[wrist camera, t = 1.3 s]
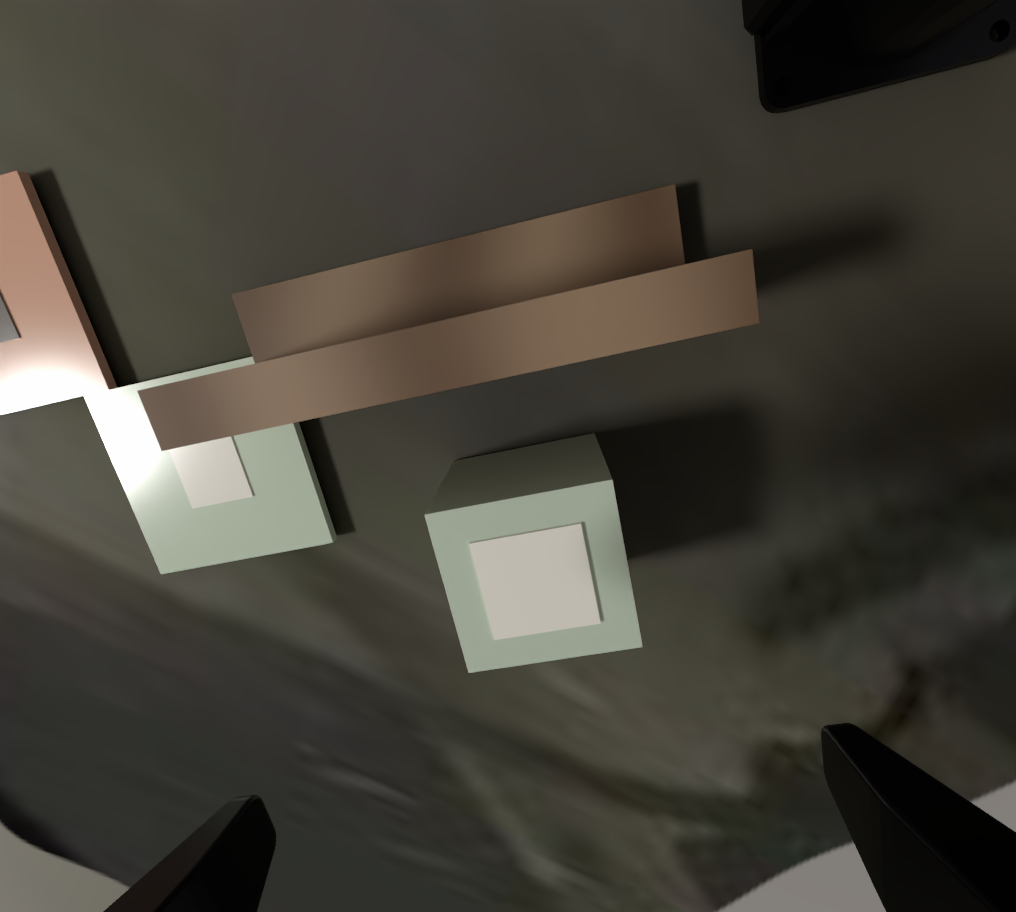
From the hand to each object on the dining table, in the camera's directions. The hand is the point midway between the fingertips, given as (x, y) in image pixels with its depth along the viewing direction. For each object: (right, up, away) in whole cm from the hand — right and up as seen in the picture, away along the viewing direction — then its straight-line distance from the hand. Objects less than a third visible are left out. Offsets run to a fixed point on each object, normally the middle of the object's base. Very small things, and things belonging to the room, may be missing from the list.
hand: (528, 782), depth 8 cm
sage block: (+1, +3, +11) cm, 11 cm away
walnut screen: (-2, +9, +9) cm, 13 cm away
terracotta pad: (-18, +10, +10) cm, 23 cm away
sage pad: (-11, +5, +11) cm, 16 cm away
